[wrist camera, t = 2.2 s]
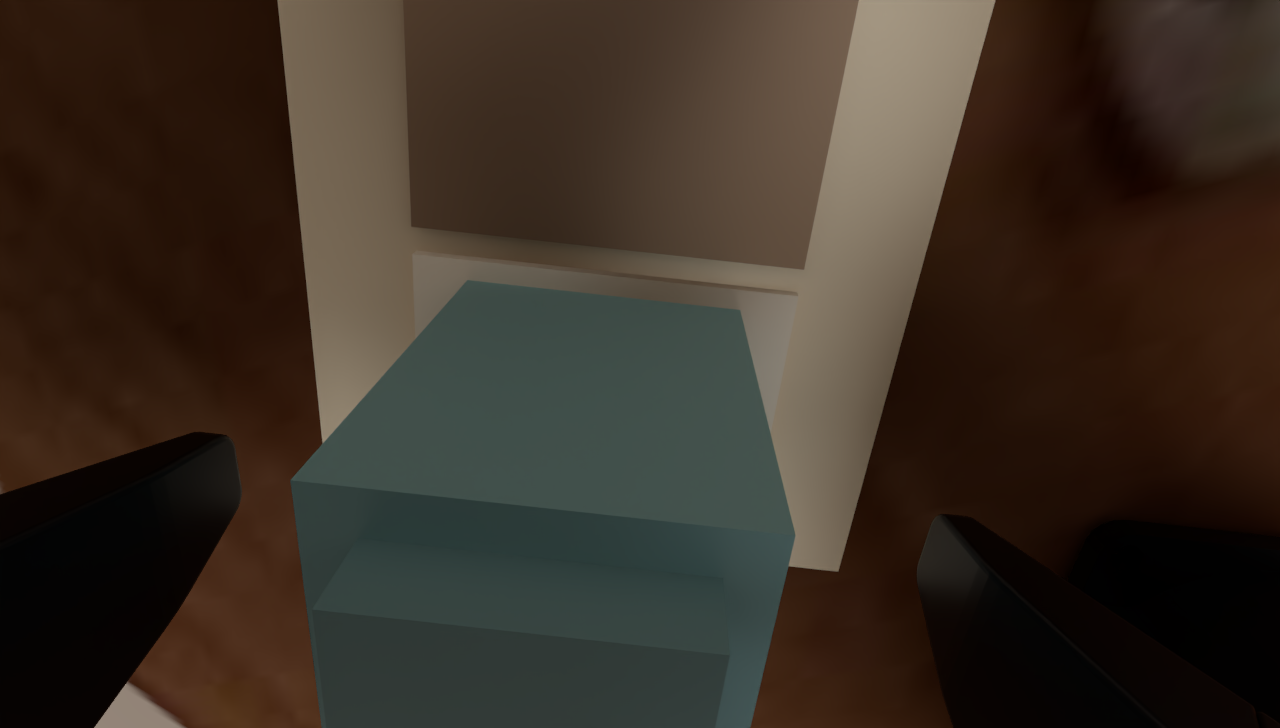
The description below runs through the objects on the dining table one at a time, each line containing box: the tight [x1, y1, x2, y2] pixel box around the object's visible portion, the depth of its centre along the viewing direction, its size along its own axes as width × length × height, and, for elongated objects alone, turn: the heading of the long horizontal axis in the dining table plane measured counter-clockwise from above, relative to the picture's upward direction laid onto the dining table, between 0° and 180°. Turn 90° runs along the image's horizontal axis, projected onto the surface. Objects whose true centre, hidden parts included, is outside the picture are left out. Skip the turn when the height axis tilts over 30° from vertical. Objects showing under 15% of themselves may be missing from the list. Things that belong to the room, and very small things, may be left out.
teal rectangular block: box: [290, 280, 796, 728], centre depth 8 cm, size 4×4×6 cm
